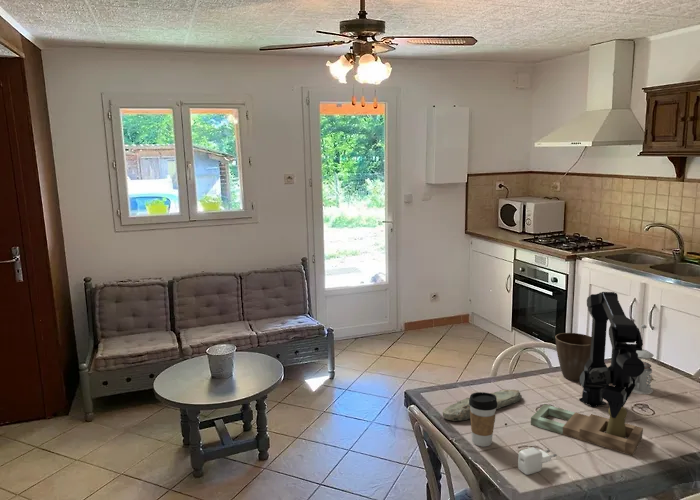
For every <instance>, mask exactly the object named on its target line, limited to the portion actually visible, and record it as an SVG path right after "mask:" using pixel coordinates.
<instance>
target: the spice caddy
mask: <svg viewBox="0 0 700 500" xmlns="http://www.w3.org/2000/svg"><path fill="white" fill-rule="evenodd" d="M548 416H551V417H553V418H557V419H562V420H564V421H566V423H562V422H559V421H556V420H552V419H549V418H547V417H548ZM608 422H609V418H607V417H604V416H601V415H596V414H593V413H591V414H590V415H585V414H582V413H580V412H579V413H578V412H575V411H571V410H568V409H564V408H560V407H556V406H554V405H551V404H547V403H544V404H543V405H542V406H541V407H540V408H539V409H538V410H537V411H536V412H535V413H534V414H533V415H532V416H531V417H530V426H534V427H537V428H540V429H544V430H546V431H550V432H554V433H557V434H560V435H564V436H567V437H570V438H574V439H577V440H580V441H582V442H587V443H590V444H593V445H597V446H599V447H602V448H603V447H604V448H606V449H609V450H613V451H616V452H620V453H623V454H627V455H629V456H634V454H635V453H636V450H637V449H638V447H639V445H640V443H641V442H642V439H643V431H644V428H643V427H641V426H637V425H633V424H628V423H626V422H625V431H626V439H625V438H622V437H618V436H615V435H611V434H608V433H606V430H607V426H608Z"/></svg>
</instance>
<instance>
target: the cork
mask: <svg viewBox="0 0 700 500" xmlns="http://www.w3.org/2000/svg"><path fill="white" fill-rule="evenodd" d="M607 414H608V415H609V418H608V419H609V422H608V426H607V430H606V431H605V433H608V434H611V435H615V436H618V437H622V438H625V439H627V437H626V431H625V423H626V418H627V417H628V411H627V409H626V408H625V407H624V406H623V407H622V408H621V409H620V411H619V413H618V415H617V417H616V418H612V417H611V412H610V408H609V407H608V412H607Z"/></svg>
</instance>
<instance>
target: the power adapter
mask: <svg viewBox="0 0 700 500" xmlns="http://www.w3.org/2000/svg"><path fill="white" fill-rule="evenodd" d="M550 452H551V450H550V449H545V450H543V449H538V448H536V447H532V446H531V447H529V448H525V449H522V450H519V452H518V456H517V457H518V458H517V459H518V460H517V461H518V462H517V468H518V470H519V471H520V472H522V473H523V474H524V475H526V476H528V475H533V474H536V473H538V472H541V471H542V469H543V464H544V463H548V462H550V461H552V458H555V457H557V454H556V453H554V454H551V455H550V454H548V453H550Z"/></svg>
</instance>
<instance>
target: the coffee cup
mask: <svg viewBox="0 0 700 500" xmlns="http://www.w3.org/2000/svg"><path fill="white" fill-rule="evenodd" d="M491 393H492V392H490V393H489V392H486V391H485V392H483V391H482V392H481V391H479V392H478V391H477V392H473V393H471V394H470V395H469V396H470V397H469V398H470V399H469V405H470V419H469V420H470V428H471V429H470V430H471V431H470V432H471V442H472V443H473V444H474V445H476V446H477V447H489V446H491V445H492V442H493V433H494V428H495V420H496V414H497V411H496V410H497V409H496V408H497V398H496V396H495V395H494V394H491Z"/></svg>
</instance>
